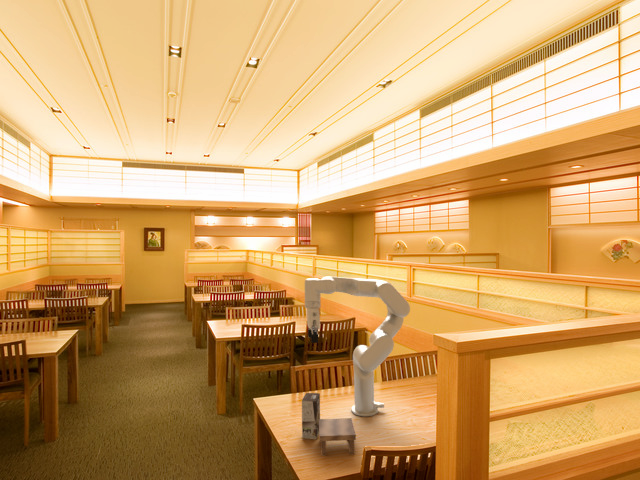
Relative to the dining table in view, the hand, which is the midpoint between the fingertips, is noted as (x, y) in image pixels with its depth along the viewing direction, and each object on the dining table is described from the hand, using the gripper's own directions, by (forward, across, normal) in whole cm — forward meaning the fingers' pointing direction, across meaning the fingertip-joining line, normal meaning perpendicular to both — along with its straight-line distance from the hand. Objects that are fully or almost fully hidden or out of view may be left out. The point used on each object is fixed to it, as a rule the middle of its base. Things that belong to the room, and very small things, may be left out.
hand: (313, 340), depth 187 cm
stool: (+36, -30, -4) cm, 47 cm away
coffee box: (+36, -17, +4) cm, 40 cm away
